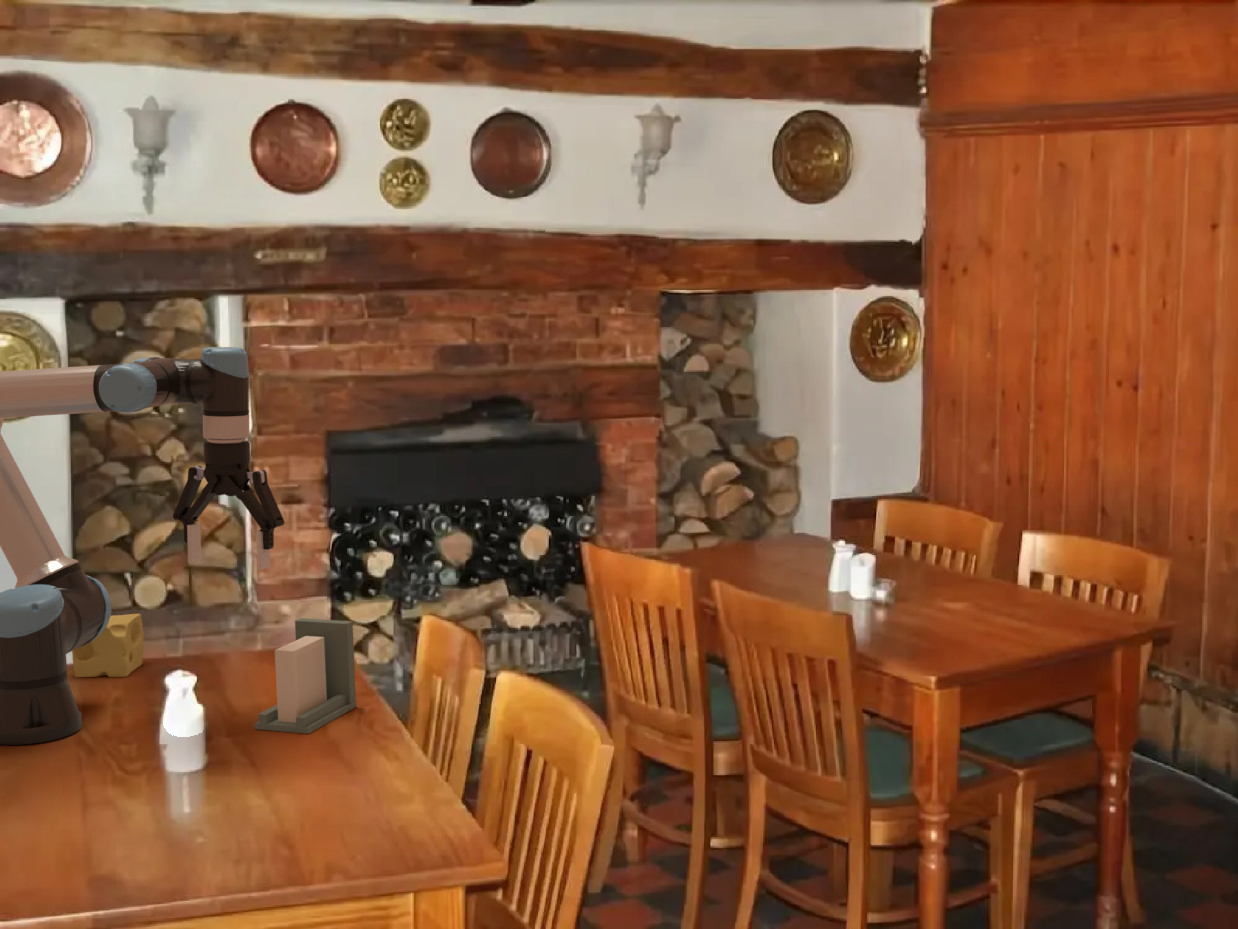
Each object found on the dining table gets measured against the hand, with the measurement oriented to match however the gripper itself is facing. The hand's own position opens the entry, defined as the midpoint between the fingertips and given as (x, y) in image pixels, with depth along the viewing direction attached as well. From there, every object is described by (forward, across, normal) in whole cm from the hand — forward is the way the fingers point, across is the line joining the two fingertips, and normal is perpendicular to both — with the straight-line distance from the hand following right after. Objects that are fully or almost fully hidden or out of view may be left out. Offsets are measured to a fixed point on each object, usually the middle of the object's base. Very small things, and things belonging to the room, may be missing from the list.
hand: (228, 565), depth 261 cm
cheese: (+27, +39, -17) cm, 50 cm away
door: (+24, -14, +1) cm, 28 cm away
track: (+25, -14, 0) cm, 29 cm away
